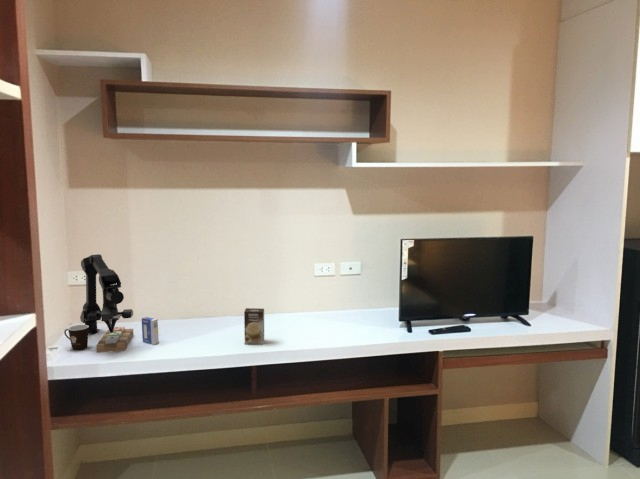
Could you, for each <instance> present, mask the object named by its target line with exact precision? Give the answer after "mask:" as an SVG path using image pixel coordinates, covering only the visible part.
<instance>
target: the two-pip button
mask: <svg viewBox="0 0 640 479" xmlns="http://www.w3.org/2000/svg"><path fill="white" fill-rule="evenodd" d="M125 329H126V328H125V326H119V327H118V326H115V327H114V330H113V332H117V331H122V333H124V332H125Z"/></svg>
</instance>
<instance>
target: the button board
mask: <svg viewBox="0 0 640 479" xmlns="http://www.w3.org/2000/svg"><path fill="white" fill-rule="evenodd" d="M109 334H110V331H109V329H107V331H106V332H105V333H104V334H103V336H102V337H101V338H100V340H99V341H98V342H97V343H96V345H95V346H96V353H111V352H113V353H114V352H116V353H117V352H125V351H126V350H127V348H128V346H129V344H130V343H131V341H132V339H133V338H134V334H135V333H134V328H125V332H124V333H122V336H121V338H119V341H118V343H107V344H106V342H105V340H106V338H107V337H108V336H109Z"/></svg>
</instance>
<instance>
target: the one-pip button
mask: <svg viewBox="0 0 640 479" xmlns="http://www.w3.org/2000/svg"><path fill="white" fill-rule="evenodd" d="M118 341H119V336H108V337H107V338H106V340H105V342H106V344H107V343H118Z"/></svg>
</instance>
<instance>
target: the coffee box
mask: <svg viewBox="0 0 640 479" xmlns="http://www.w3.org/2000/svg"><path fill="white" fill-rule="evenodd" d="M243 316H244V318H243V319H244V324H243V325H244V327H243V328H244V345H252V346H253V345H254V346H255V345H260V346H261V345H262V346H263V345H264V343H265V308H259V307H258V308H254V307H253V308H249V307H247V308H245V310H244V313H243Z"/></svg>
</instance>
